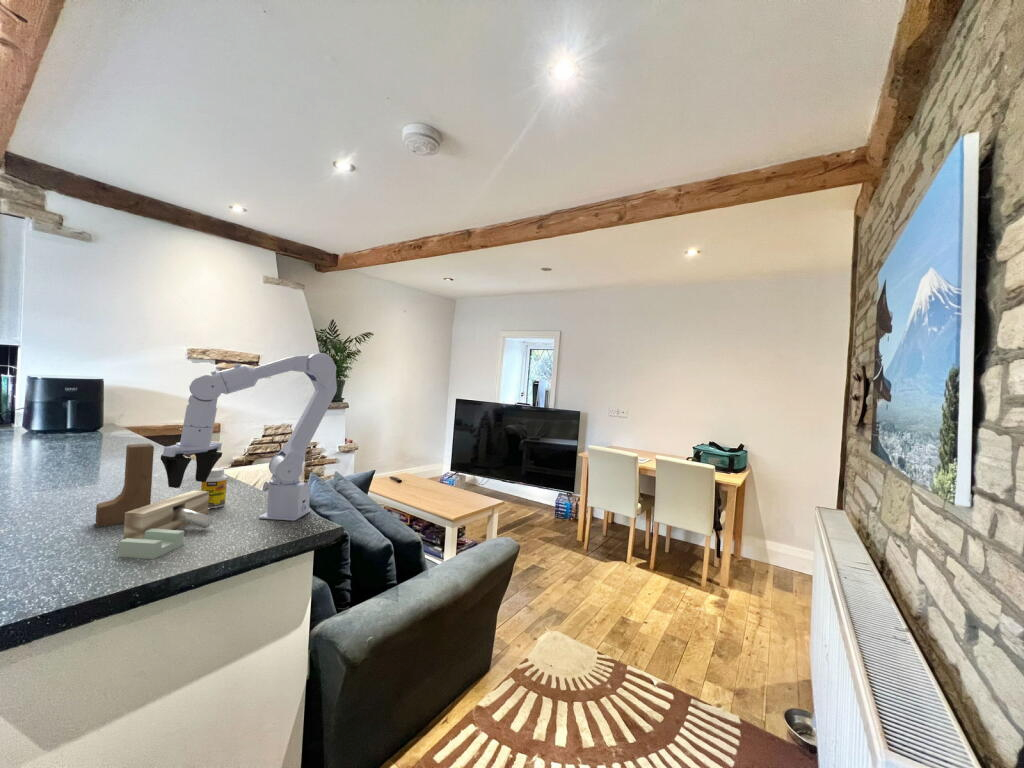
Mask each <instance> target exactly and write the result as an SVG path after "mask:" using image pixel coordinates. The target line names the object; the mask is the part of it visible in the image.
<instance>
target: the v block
mask: <svg viewBox="0 0 1024 768" xmlns="http://www.w3.org/2000/svg"><path fill="white" fill-rule="evenodd" d="M184 542H185V530H178V529H175V530H165V529H150V530H147V531H145V537H144V539H132V538H126V539H124V540H123V539H121V540H119V541H118V553H117V555H118V556H117V557H120V558H129V559H130V558H132V559H146V560H147V559H148V560H155V559H157V558H158V557H159V558H160V557H161V556H163V555H166V554H167V553H169V552H171V551H174V550H175V549H178V548H180V547H182V546H184Z"/></svg>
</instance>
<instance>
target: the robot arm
mask: <svg viewBox="0 0 1024 768" xmlns="http://www.w3.org/2000/svg"><path fill="white" fill-rule="evenodd" d="M337 369H338V368H337V366H336V364H335V362H334V360H333V358H332V356H330V355H329V354H327V353H325V352H317V353H308V354H302V355H301V354H300V355H293V356H288V357H285V358H281V359H278V360H275V361H272V362H269V363H268V362H267V363H265V364H262V365H259V366H255V367H253V366H250V365H249V364H242V365H241V364H240V363H236V364H234V365H233V367H231V368H228V369H223V370H220V371H217V370H212V371H210V374H211V375H208V374H204V375H200V376H198V377H195V378H194V379H193V380H192V381H191V383H190V384H189V392H190V393H191V394H190V396H189V397H188V401H187V402H188V404H187V405H186V409H185V412H184V413H185V414H184V420H183V426H182V431H181V436H180V441H179V442H176V443H175V444H173V445H169V446H164V447H163V451H162V454H161V455H160V460H161V462H162V464H163V467H164V469H165V472H166V477H167V483H168V484H167V485H168V488H175V489H180V488H181V485H182V483H183V481H184V480H183V479H184V475H185V472H186V470H187V468H188V466H189V464H190V462H191V461H192V458H191V457H186V456H185V455H191V454H194V455H195V462H196V468H195V482H201V483H202V482H206V480H207V478H208V476H209V474H210V472H211V470H212V468H215V465H217V462H218V461H219V459H221V458H222V457H223V451H222V444H223V443H222V442H216V441H212V438H213V434H214V433H213V432H214V427H215V422H216V415H217V411H218V408H217V403H218V400H219V399H218V398H219V397H220V396H221V395H222V394H224V395H229V394H232V393H236V392H239V391H242V390H247V389H249V388H252V387H255V386H256V384H257V382H258V381H259V380H260V379H261V380H262V379H265V378H269V377H272V376H276V375H281V374H283V373H284V374H285V373H288V372H291V371H292V372H299V373H300V372H301V373H304V374H305V375H306V376H307V377H308V378H309V379H310V381H311V383H312V385H313V387H314V391H313V394H312V395H311V397H310V400H309V401H308V402H307V405H306V407H305V408H304V411H303V412H302V414H301V416H300V417H299V420H298V422H297V423H296V425H295V427H294V429H293V431H292V433H291V434H290V436H289V439H288V440H287V442H286V443H285V444H284V445H283V446H282V447H281V448H280V450H279V451H278V453H277V454H276V455H274V456H273V457H272V458H271V459H270V461H269V463H268V470H269V471H270V473H271V474H272V475H271V477H270V478H269V480H268V485H267V487H268V489H267V504H266V506H267V507H266V512H265V513H262V514H261V515H258V519H261V520H262V519H264V520H266V519H267V520H277V521H291V522H292V521H296V520H298V519H300V518H301V517H303V516H305V515H306V514H309V513H310V512H311V509H310V499H311V497H310V496H311V487H310V484H309V483H308V482H307V483H306V482H303V481H301V478H300V477H301V476H302V473H303V464H304V462H305V460H306V452H307V449H308V447H309V445H310V443H311V441H312V439H313V437H314V436H315V434H316V432H317V430H318V428H319V426H320V424H321V422H322V420H323V418H324V417H325V415H326V414H327V413H326V412H327V411H328V408H329V407H330V404H331V403H332V401H333V400H334V397H335V395H336V393H337V390H338V385H337V375H336V374H337Z"/></svg>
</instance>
